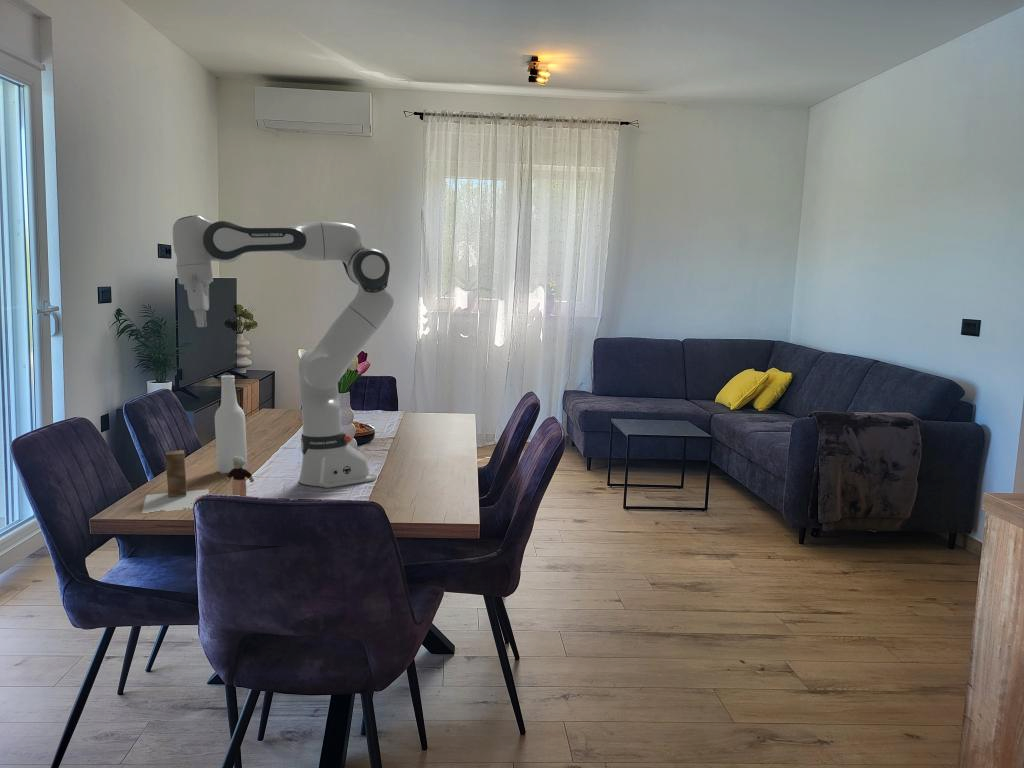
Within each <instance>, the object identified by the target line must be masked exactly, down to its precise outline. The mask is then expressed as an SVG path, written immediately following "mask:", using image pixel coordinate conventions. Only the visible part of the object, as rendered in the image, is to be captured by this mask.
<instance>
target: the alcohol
mask: <svg viewBox="0 0 1024 768" xmlns="http://www.w3.org/2000/svg"><path fill="white" fill-rule="evenodd" d="M220 378H221V380H220V382H221V388H220V390H221V393H220V394H221V395H220V397H221V398H220V405H219V407H218V408H217V409H216V411H215V414H214V429H215V448H216V465H217V468H216V469H217V472H218V473H219V474H222V475H223V474H224V475H225V474H229V472H230V471H231V470H232V469H234V466H233V461H232V459H233V457H234V456H241V457H242V458H243V459H244V460H245V462H246V463H245V464H244V465H243V467H242V468H243V469H245V470H248V469H247V468H248V455H247V454H248V451H247V433H246V431H247V429H246V414H245V412H244V409H242V407H241V406H240V405H239V403H238V400H237V399H238V398H237V391H236V385H235V384H236V383H235V381H236V379H235V378H236V377H235V375H232V374H227V375H226V374H224V375H221V376H220Z"/></svg>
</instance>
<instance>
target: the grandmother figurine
mask: <svg viewBox="0 0 1024 768" xmlns="http://www.w3.org/2000/svg"><path fill="white" fill-rule="evenodd" d="M232 461H233V466H234V469H232V470H231V471H230V472H229V473H227V477H226V480H225V481H226V483H230V482H231V479H232V483H231V484H232V490H231V491H232V495H240V496H246V497H247V482H246V478H247V479H248V480H249V482H250V483H254V481H255V480H254V478H253V476H252V475H253V474H252V473H251V472H250V471H248V469H246V470H245V469H243V468H242V467H243V465H244V464H245V463H246V462H245V460H244V459H243V458H242V457H241V456H234V457H233V459H232Z"/></svg>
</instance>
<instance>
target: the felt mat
mask: <svg viewBox="0 0 1024 768" xmlns="http://www.w3.org/2000/svg"><path fill="white" fill-rule="evenodd" d="M209 492H210V489H208V488H207V489H196V490H188V491H187V494H186V496H184V497H173V498H168V492H163V493H153V494H147V495H145V499H144V504H143V507H142V509H141V510H142V511H141V514H142V513H147V514H150V513H149V512H154V511H160V510H165V511H166V512H174V511H175V510H176V511H184V509H183V508H187V509H186V510H193V509H192V508H193V503H194V501H195V499H196V498H198V497H199V496H202V495H206V494H209V495H210V493H209ZM191 503H192V504H191ZM188 507H189V508H190V509H188Z"/></svg>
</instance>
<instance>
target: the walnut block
mask: <svg viewBox="0 0 1024 768" xmlns="http://www.w3.org/2000/svg"><path fill="white" fill-rule="evenodd" d="M185 456H186V455H185V450H184V449H180V450H169V451H166V452H165V465H166V466H165V467H166V478H167V479H166V480H167V481H166V484H167V493H168V498H173V497H184V496H186V494H187V475H186V459H185V458H186V457H185Z"/></svg>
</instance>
